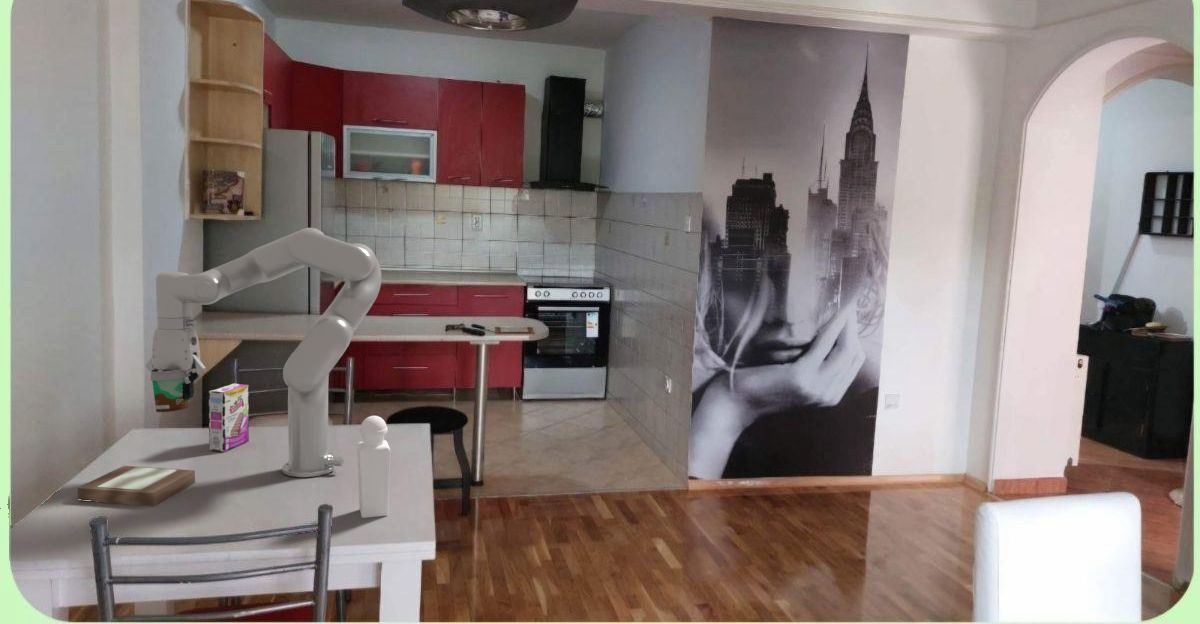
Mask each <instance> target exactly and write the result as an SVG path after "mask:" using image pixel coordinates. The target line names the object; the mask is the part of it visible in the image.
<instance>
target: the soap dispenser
mask: <svg viewBox="0 0 1200 624" xmlns="http://www.w3.org/2000/svg"><path fill="white" fill-rule="evenodd" d="M388 430H389V429H388V426H387V424H386V421H385V420H384V419H383V418H382V417H380V416H378V415H370V416H368V417H365V419H364V420H363V421H362V422H361V424H360V428H359V434H360V435H361V437H362V440H363V441H359V442H357V443H356V450H357V473H358V475H357V476H358V477H357V479H358V499H359V501H358V502H359V503H358V504H359V505H358V506H359V511H360V517H361V519H368V518H378V517H386V516H387V517H388V515H389V502H390V501H389V499H390V473H391V472H390V471H391V448H390V445H389V443H388V441H387V440H386V439H385V437H386V434H387V433H388V432H389V431H388Z"/></svg>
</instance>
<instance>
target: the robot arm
mask: <svg viewBox="0 0 1200 624" xmlns="http://www.w3.org/2000/svg"><path fill="white" fill-rule="evenodd" d="M380 265H381V264H380V263H379V260H378V258H377V255H375V252H374V251H373V250H372V248H370V247H369V246H367V245H366V244H363V243H359V242H358V243H357V242H356V243H349V242H347V241H343V240H340V239H337V238H333V237H331V236H328V235H327V234H326V235H325V233H324V232H323V231H321V230H320V229H318V228H315V227H305V228H303V229H301V230H298V231H295V232H293V233H290V234H288V235H286V236H283V237H280V238H278V239H275V240H273V241H271V242H269V243H266V244H264V245H261V246H259V247H256V248H254V249H252V250H250V251H249V252H248V253H246V254H244V255H241V256H240V257H237V258H236V259H233V260H231V261H229V262H226V263H224V264H221V265H218V266H216V267H213V268H211V269H208V270H205V271H202V272H201V273H196V274H189V273H187V272H183V271H164V272H159V273H158V274H157V276H156V277H155V297H156V298H155V300H156V301H155V302H156V303H155V305H156V327H157V328H155V329H154V333H153V337H152V346H151V349H152V350H151V358H150V360H148V362H147V363H146V365H145V368H146V369H147V370H148V371H149V372H150V373H151V372H159V371H164V370H166V371H172V370H179V369H181V371H183V372H185V376H186V377H184V381H185V383H184V384H183V399H184V400H187V399H190V400H191V399H192V398H193V397H194V394H195V390H194V389H195V384H194V382H196V381H197V379H198V378H199V377H200V376H201V375H202V374H203V373H205V372H206V371H207V368H206V365H204V363H203V362H202V361H201V349H200V341H199V337H198V334H197V333H198V332H197V329H196V328H193V326H195V327H196V325H197V320H195V319H193V316H192V315H193V314H192V313H193V311H192V306H193V305H192V304H196V305H203V306H205V305H206V306H207V305H213V304H215V303H216V302H218V301H220V300H221V299H223V298H225V297H227V296H230V295H231V294H235V293H237V292H239V291H241V290H244V289H246V288H250V287H252V286H254V285H257V284H262V283H267V282H271V281H274V280H276V279H279V278H281V277H284V276H285V275H288V274H290V273H292V272H295V271H299V270H300V269H302V268H305V267H307V268H311V269H313V270H317V271H319V272H323V273H325V274H329V275H332V276H335V277H337V278H341V279H345V282H344V284H343V286H341V289H340V290H339V291H338V293H337V295H336V296H335V298H334V299H333V300H332V302H331V303H330V305H329V306H328V307H327V309H326V310H325V311H324V312H323V314H321V316H319V317H318V318H317V320H315V322H314V324H313V325H312V326H311V328H310V329H309V330H308V332H307V333H306V335H305V336H304V337H303V339H302V341H300V342H299V345H298V346H297V347H296V348H295V350H294V351H293V352H292V353H291V354H290V355H289V357H288V359H287V361H286V362H285V364H284V366H283V370H282V377H283V381H284V383H285V384H286V386H287V389H288V390H287V392H288V393H287V419H288V420H287V422H288V423H287V424H288V425H287V429H288V431H287V433H288V435H287V436H288V462H285V463H284V464H283V465H282V468H281V469H282V473H283V474H284V475H285V476H288V477H295V478H313V477H319V476H324V475H327V474H329V473H331V472H332V471H334V470H335V468H336V467H343V466H344V464H345V463H344V462H345V461H344V458H343V456H337V455H336V456H335V455H333V450H331V449H329V379H330V378H329V377H330V373H331V371H332V370H333V369H334V367H335V366H336V365H337V363H338V362H339V360H340V359H341V357H343V355H344V353H345V352H346V350H347V348H348V347H349V345H350V343H351V341H352V338H353V335H354V333H355V331H356V330H357V328H358V327H359V325H360V324H361V322H362V321H363V320H364V318H365V317H366V315H367V314H368V313H369V311H370V309H371V308H372V307H373V304H374V303H375V302H376V299H377V297H378V295H379V293H380V289H381V286H382V269H381V266H380ZM195 369H196V370H195ZM194 370H195V371H194ZM188 372H191V375H190V376H189V374H188Z"/></svg>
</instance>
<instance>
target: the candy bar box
mask: <svg viewBox="0 0 1200 624" xmlns="http://www.w3.org/2000/svg"><path fill="white" fill-rule="evenodd" d="M249 393H250V392H249V384H244V383H243V384H242V383H231V384H227V385H225V386H222V387H218V388H216V389H212V390H209V391H208V422H209V423H208V438H209V441H208V443H209V445H208V446H209V447H208V449H209V451H211V452H212V451H213V452H217V453H218V452H219V453H226V452H227V451H230V450H232V449H234V448H236V447H239V446H240V445H244V444H246V443H248V442H249V440H250V439H249V437H250V436H249V435H250V431H249V428H250V427H249V422H250V421H249V418H250V416H249V407H250V406H249V404H250V402H249V399H250V398H249V395H250V394H249Z"/></svg>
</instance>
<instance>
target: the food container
mask: <svg viewBox="0 0 1200 624" xmlns="http://www.w3.org/2000/svg"><path fill="white" fill-rule="evenodd" d="M188 374H189V376H190V375H191V372H188ZM184 377H186V376H185V372H183V371H181V369H179V370H172V371H166V370H164V371H159V372H150V382H152V388H153V396H154V397H153V398H154V406H155V410H156V411H155V412H156V413H169V412H176V411H181V410H182V411H183V410H185V409H188V408H190V407H191V398H190V399H187V400H184V399H183V384H184V383H185V381H184Z"/></svg>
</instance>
